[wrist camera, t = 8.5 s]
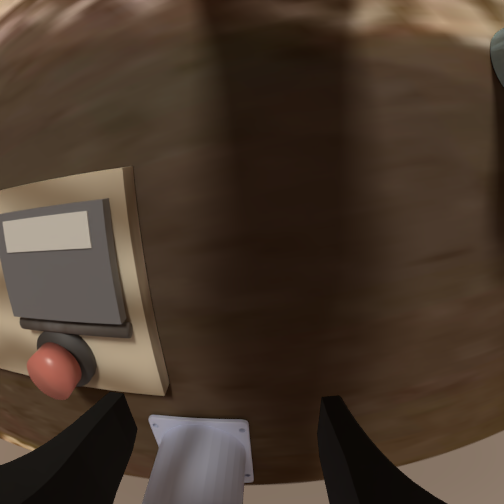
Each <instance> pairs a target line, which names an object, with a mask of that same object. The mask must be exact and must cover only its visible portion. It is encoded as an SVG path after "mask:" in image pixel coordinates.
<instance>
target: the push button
mask: <svg viewBox="0 0 504 504" xmlns="http://www.w3.org/2000/svg"><path fill="white" fill-rule="evenodd" d="M27 371H28V373H29V376H30V378H31V379H32V381H33V382H34V384H35V385H36V386H37V387H38V388H39V389H40V390H41V391H42V392H43V393H45V394H46V395H48V396H50V397H52V398H54V399H57V400H65V399H67V398H68V397H69V396H70V394H71V393H72V391H73V390H74V388H75V387H76V386H77V384H78V383H79V381H80V380H81V376H82V373H81V369H80V366H79V364H78V362H77V360H76V359H75V358H74V356H73V355H72V354H71V353H70V352H69V351H68V350H66V349H65V348H64V347H62V346H60V345H58V344H56V343H52V342H47V343H44V344H43V345H42V346H41V347H40V348H39V349H38V350H37V351H36V352H35V353H34V354H33V355H32V356H31V357H30V359H29V360H28V362H27Z"/></svg>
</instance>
